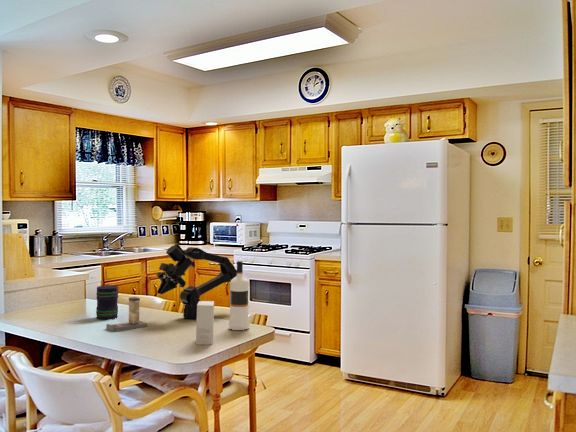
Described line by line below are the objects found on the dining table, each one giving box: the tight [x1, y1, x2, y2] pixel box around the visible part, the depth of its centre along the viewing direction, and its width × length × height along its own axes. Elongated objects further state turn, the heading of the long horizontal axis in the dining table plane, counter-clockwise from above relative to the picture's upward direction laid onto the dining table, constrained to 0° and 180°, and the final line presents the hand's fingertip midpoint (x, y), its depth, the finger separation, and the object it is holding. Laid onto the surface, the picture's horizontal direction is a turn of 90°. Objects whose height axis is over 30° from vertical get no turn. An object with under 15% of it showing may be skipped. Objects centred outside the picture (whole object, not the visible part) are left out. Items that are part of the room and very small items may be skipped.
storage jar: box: [95, 285, 119, 321], centre depth 236 cm, size 10×10×15 cm
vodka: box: [228, 260, 250, 331], centre depth 217 cm, size 9×9×30 cm
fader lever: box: [128, 296, 141, 324], centre depth 218 cm, size 3×4×11 cm
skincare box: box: [195, 300, 215, 346], centre depth 194 cm, size 8×7×16 cm
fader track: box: [105, 320, 148, 333], centre depth 216 cm, size 16×7×2 cm, turn 133°
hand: (159, 293), depth 227 cm, fingers closed
